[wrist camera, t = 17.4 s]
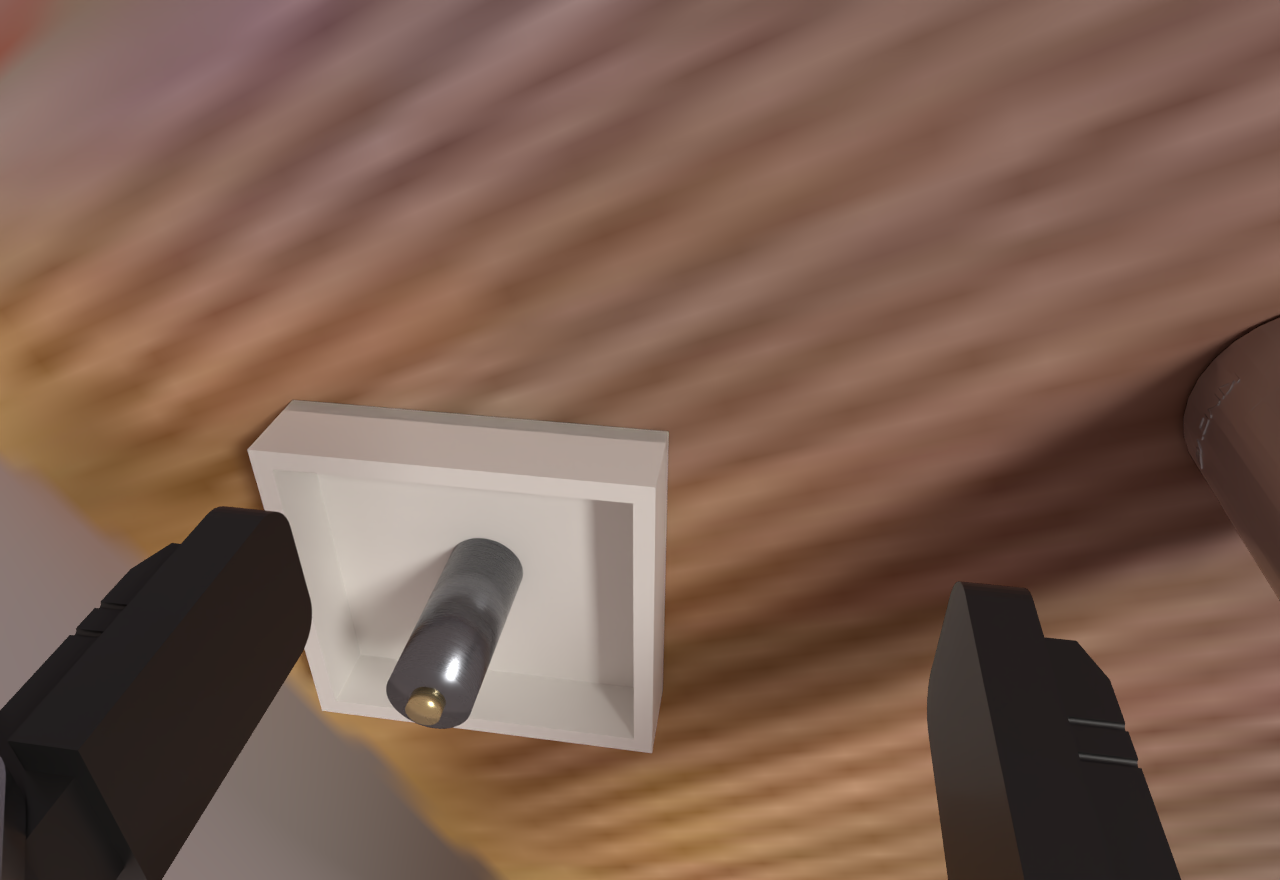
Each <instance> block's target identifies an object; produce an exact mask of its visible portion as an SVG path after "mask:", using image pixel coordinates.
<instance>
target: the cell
mask: <svg viewBox="0 0 1280 880" xmlns="http://www.w3.org/2000/svg"><path fill="white" fill-rule="evenodd" d="M522 578H523V568H522V565H521V563H520V561H519V559H518V557H517V556H516V555H515V554H514V553H513V552H512V551H511V550H510V549H509V548H507V547H506V546H504V545H503V544H501V543H499V542H496V541H493V540H490V539H484V538H472V539H468V540H465V541H463V542H461V543H459V544H458V545H457V546H456V547H455V548H454V549H453V551H452V553H451V555H450V557H449V559H448V561H447V563H446V565H445V567H444V569H443V571H442V573H441V575H440V577H439V579H438V581H437V583H436V585H435V587H434V589H433V591H432V593H431V595H430V597H429V599H428V601H427V603H426V605H425V607H424V609H423V611H422V614H421V616H420V618H419V620H418V622H417V624H416V626H415V628H414V630H413V632H412V634H411V636H410V638H409V640H408V642H407V644H406V646H405V648H404V650H403V652H402V654H401V656H400V658H399V660H398V662H397V664H396V666H395V668H394V670H393V672H392V674H391V676H390V678H389V680H388V682H387V685H386V693H387V697H388V699H389V701H390V703H391V704H392V706H393V707H394V708H395V709H396V710H397V711H398V712H399V713H400V714H401V715H403V716H404V717H406V718H407V719H409V720H411V721H413V722H415V723H417V724H420V725H423V726H426V727H431V728H439V729H445V728H452V727H456V726H459V725H460V724H462V723H464V722H465V721H466V720H467V719H468V718H469V716H470V714H471V711H472V708H473V706H474V703H475V701H476V698H477V695H478V693H479V690H480V688H481V685H482V682H483V680H484V677H485V675H486V672H487V669H488V667H489V664H490V662H491V659H492V656H493V654H494V651H495V649H496V646H497V643H498V641H499V638H500V635H501V633H502V630H503V628H504V625H505V622H506V620H507V617H508V615H509V612H510V609H511V607H512V604H513V602H514V599H515V596H516V594H517V591H518V589H519V586H520V583H521V581H522Z"/></svg>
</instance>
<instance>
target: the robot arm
mask: <svg viewBox="0 0 1280 880" xmlns="http://www.w3.org/2000/svg"><path fill="white" fill-rule="evenodd" d="M1183 420H1184V438H1185V441H1186V444H1187V448H1188V451H1189V453H1190V455H1191V457H1192V458H1193V460H1194V462H1195V463H1196V465H1197V466H1198V468H1199V470H1200V471H1201V473H1202V475H1203V476H1204V478H1205V480H1206V481H1207V483H1208V484H1209V486H1210V488H1211V489H1212V491H1213V493H1214V494H1215V496H1216V497H1217V499H1218V501H1219V502H1220V504H1221V506H1222V508H1223V509H1224V511H1225V513H1226V514H1227V516H1228V518H1229V519H1230V521H1231V523H1232V524H1233V526H1234V528H1235V529H1236V531H1237V532H1238V534H1239V536H1240V537H1241V539H1242V540H1243V542H1244V544H1245V545H1246V547H1247V549H1248V550H1249V552H1250V553H1251V555H1252V557H1253V558H1254V560H1255V562H1256V563H1257V565H1258V566H1259V568H1260V570H1261V571H1262V573H1263V575H1264V576H1265V578H1266V579H1267V581H1268V583H1269V584H1270V586H1271V588H1272V589H1273V591H1274V592H1275V594H1276V596H1277V597H1278V599H1279V601H1280V318H1278V319H1275V320H1273V321H1271V322H1268V323H1266V324H1264V325H1261V326H1259V327H1257V328H1256V329H1254V330H1252V331H1251V332H1249V333H1248V334H1246V335H1244V336H1243V337H1241V338H1240V339H1238V340H1236V341H1235V342H1234V343H1232V344H1231V345H1230V346H1229V347H1228V348H1227V349H1225V350H1224V351H1223V352H1222V353H1221V354H1220V355H1218V356H1217V357H1216V358H1215V359H1214V360H1213V361H1212V363H1211V364H1210V365H1209V366H1208V368H1207V369H1206V370H1205V371H1204V372H1203V374H1202V375H1201V376H1200V377H1199V379H1198V381H1197V383H1196V385H1195V386H1194V388H1193V390H1192V392H1191V394H1190V396H1189V398H1188V402H1187V406H1186V410H1185V413H1184V417H1183ZM311 623H312V604H311V599H310V596H309V592H308V588H307V585H306V581H305V577H304V574H303V570H302V566H301V563H300V559H299V555H298V552H297V548H296V545H295V541H294V537H293V534H292V530H291V527H290V524H289V521H288V520H287V518H286V517H285V516H284V515H283V514H282V513H280V512H275V511H265V510H255V509H244V508H234V507H224V506H223V507H217V508H215V509H213V510H212V511H210V512H209V513H208V514H207V515H206V516H205V518H204V519H203V520H202V521H201V522H200V523H199V524H198V526H197V527H196V528H195V529H194V530H193V531H192V532H191V533H190V535H189V536H188V537H187V538H186V539H185V540H184V541H183V542H182V544H176V543H171V544H170V545H168V546H166V547H165V548H163V549H162V550H160V551H159V552H157V553H155V554H154V555H152V556H151V557H149V558H148V559H146V560H144V561H143V562H141V563H140V564H138V565H137V566H135V567H133V568H132V569H130V570H129V572H128V573H127V574H126V575H125V576H124V577H123V578H122V579H121V580H120V581H119V582H118V584H117V585H116V586H115V587H114V588H113V589H112V590H111V591H110V592H109V593H108V594H107V595H106V596H105V598H104V599H103V600H102V601H101V606H100V608H94V609H93V611H92V612H91V613H90V614H89V615H88V616H87V617H86V618H85V619H84V620H83V621H82V622H81V624H80V625H79V626H78V627H77V628H76V630H77V631H76V634H75V635H74V636H73V635H69V637H68V638H67V639H66V640H65V641H64V642H63V643H62V644H61V645H60V647H58V649H57V650H56V651H55V652H54V653H53V654H52V655H51V656H50V657H49V658H48V659H47V660H46V661H45V663H44V664H43V665H42V666H41V667H40V668H39V669H38V670H37V671H36V673H34V675H33V676H32V677H31V678H30V679H29V680H28V681H27V682H26V683H25V684H24V685H23V686H22V688H21V689H20V690H19V691H18V692H17V693H16V694H15V695H14V696H13V697H12V698H11V699H10V700H9V702H8V703H7V704H6V705H5V706H4V707H3V708H2V709H1V710H0V880H162V878H163V877H164V875H165V873H166V871H167V870H168V869H169V867H170V865H171V864H172V862H173V861H174V859H175V857H176V856H177V854H178V852H179V851H180V849H181V847H182V846H183V844H184V843H185V841H186V840H187V838H188V836H189V835H190V833H191V831H192V830H193V828H194V827H195V825H196V823H197V822H198V820H199V818H200V817H201V815H202V814H203V812H204V810H205V809H206V807H207V806H208V804H209V802H210V801H211V799H212V797H213V796H214V794H215V792H216V791H217V789H218V788H219V786H220V785H221V783H222V781H223V780H224V778H225V777H226V775H227V773H228V772H229V770H230V768H231V767H232V765H233V763H234V762H235V760H236V758H237V757H238V755H239V754H240V752H241V750H242V749H243V747H244V746H245V744H246V743H247V741H248V739H249V738H250V736H251V734H252V733H253V731H254V729H255V728H256V726H257V725H258V723H259V722H260V720H261V718H262V717H263V715H264V713H265V712H266V710H267V708H268V707H269V705H270V704H271V702H272V701H273V699H274V697H275V696H276V694H277V692H278V691H279V689H280V687H281V686H282V684H283V683H284V681H285V680H286V678H287V676H288V675H289V673H290V671H291V670H292V668H293V667H294V665H295V663H296V662H297V660H298V659H299V657H300V655H301V654H302V652H303V650H304V648H305V645H306V643H307V640H308V637H309V633H310V629H311ZM927 722H928V733H929V741H930V748H931V756H932V763H933V770H934V778H935V785H936V793H937V800H938V808H939V815H940V823H941V830H942V838H943V845H944V853H945V860H946V867H947V875H948V880H1181V878H1180V875H1179V872H1178V870H1177V867H1176V864H1175V861H1174V858H1173V856H1172V853H1171V850H1170V847H1169V844H1168V842H1167V839H1166V836H1165V833H1164V830H1163V827H1162V825H1161V822H1160V819H1159V816H1158V813H1157V811H1156V808H1155V805H1154V802H1153V799H1152V797H1151V794H1150V791H1149V788H1148V785H1147V783H1146V780H1145V777H1144V774H1143V771H1142V769H1141V768H1138V765H1137V761H1138V757H1137V755H1136V752H1135V749H1134V746H1133V743H1132V741H1131V738H1130V735H1129V732H1127V731H1125V721H1124V718H1123V715H1122V713H1121V710H1120V707H1119V704H1118V701H1117V699H1116V696H1115V693H1114V690H1113V687H1112V685H1111V682H1110V680H1109V678H1108V677H1107V676H1106V675H1105V674H1104V673H1103V671H1102V670H1101V669H1100V668H1099V667H1098V666H1097V664H1096V663H1095V662H1094V661H1093V660H1092V659H1091V657H1090V656H1089V655H1088V654H1087V653H1086V652H1085V650H1084V649H1083V648H1082V647H1081V646H1080V645H1079V643H1078V642H1077V641H1073V640H1063V639H1054V638H1044V635H1043V632H1042V628H1041V625H1040V622H1039V618H1038V615H1037V611H1036V608H1035V605H1034V601H1033V598H1032V596H1031V594H1030V592H1029V591H1028V590H1027V589H1026V588H1019V587H1009V586H999V585H989V584H979V583H969V582H956V583H955V585H954V586H953V589H952V591H951V595H950V598H949V602H948V606H947V610H946V614H945V618H944V622H943V626H942V630H941V634H940V638H939V642H938V646H937V650H936V654H935V658H934V662H933V665H932V669H931V674H930V679H929V686H928V697H927Z"/></svg>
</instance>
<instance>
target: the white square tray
mask: <svg viewBox="0 0 1280 880" xmlns="http://www.w3.org/2000/svg"><path fill="white" fill-rule="evenodd" d="M668 437H669V432H668V431H657V430H645V429H633V428H621V427H609V426H597V425H585V424H573V423H562V422H550V421H538V420H526V419H514V418H502V417H490V416H479V415H467V414H455V413H443V412H431V411H419V410H407V409H396V408H384V407H372V406H360V405H348V404H336V403H324V402H313V401H301V400H292V401H291V402H290V403H289V404H288V406H287V407H286V408H285V409H284V410H283V411H282V412H281V413H280V414H279V415H278V417H277V418H276V419H275V420H274V421H273V422H272V423H271V424H270V425H269V426H268V427H267V429H266V430H265V431H264V432H263V433H262V434H261V435H260V436H259V437H258V438H257V440H256V441H255V442H254V443H253V444H252V445H251V446H250V447H249V448H248V449H247V451H248V454H249V458H250V461H251V465H252V468H253V471H254V475H255V478H256V482H257V485H258V489H259V492H260V496H261V499H262V503H263V506H264V510H265V511H275V512H280V513H282V514H283V515H284V516H285V517H286V518H287V520H288V521H289V524H290V527H291V530H292V534H293V537H294V541H295V545H296V548H297V552H298V555H299V559H300V563H301V566H302V570H303V574H304V577H305V581H306V585H307V588H308V592H309V596H310V599H311V604H312V623H311V629H310V633H309V637H308V640H307V643H306V645H305V648H304V649H305V652H306V656H307V659H308V663H309V666H310V670H311V673H312V676H313V680H314V683H315V687H316V690H317V694H318V697H319V701H320V704H321V708H322V711H329V712H337V713H345V714H353V715H360V716H368V717H376V718H384V719H391V720H399V721H407V722H413V721H411V720H409V719H407V718H406V717H404V716H403V715H401V714H400V713H399V712H398V711H397V710H396V709H395V708H394V707H393V706H392V704H391V703H390V701H389V699H388V697H387V693H386V685H387V682H388V680H389V678H390V676H391V674H392V672H393V670H394V668H395V666H396V664H397V662H398V660H399V658H400V656H401V654H402V652H403V650H404V648H405V646H406V644H407V642H408V640H409V638H410V636H411V634H412V632H413V630H414V628H415V626H416V624H417V622H418V620H419V618H420V616H421V614H422V611H423V609H424V607H425V605H426V603H427V601H428V599H429V597H430V595H431V593H432V591H433V589H434V587H435V585H436V583H437V581H438V579H439V577H440V575H441V573H442V571H443V569H444V567H445V565H446V563H447V561H448V559H449V557H450V555H451V553H452V551H453V549H454V548H455V547H456V546H457V545H458V544H459V543H461V542H463V541H465V540H468V539H472V538H484V539H490V540H493V541H496V542H499V543H501V544H503V545H504V546H506V547H507V548H509V549H510V550H511V551H512V552H513V553H514V554H515V555H516V556H517V557H518V559H519V561H520V563H521V565H522V568H523V578H522V581H521V583H520V586H519V589H518V591H517V594H516V596H515V599H514V602H513V604H512V607H511V609H510V612H509V615H508V617H507V620H506V622H505V625H504V628H503V630H502V633H501V635H500V638H499V641H498V643H497V646H496V649H495V651H494V654H493V656H492V659H491V662H490V664H489V667H488V669H487V672H486V675H485V677H484V680H483V682H482V685H481V688H480V690H479V693H478V695H477V698H476V701H475V703H474V706H473V708H472V711H471V714H470V716H469V718H468V719H467V720H466V721H465V722H464V723H462V724H460V725H459V726H456V727H453V728H461V729H469V730H476V731H484V732H492V733H499V734H507V735H515V736H523V737H530V738H538V739H546V740H554V741H561V742H569V743H577V744H585V745H592V746H600V747H608V748H615V749H623V750H631V751H639V752H646V753H652V751H653V745H654V739H655V733H656V727H657V721H658V716H659V710H660V704H661V698H662V692H663V664H664V618H665V573H666V528H667V482H668ZM414 723H415V722H414Z"/></svg>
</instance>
